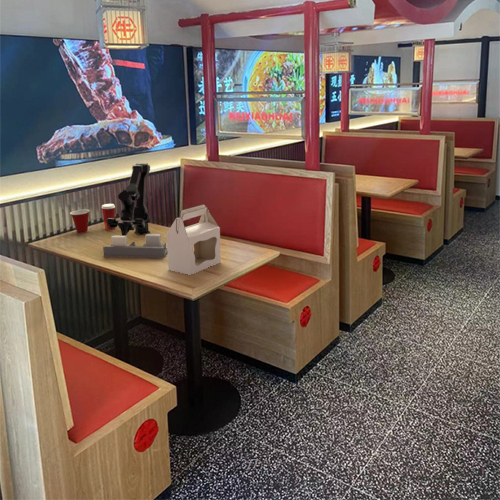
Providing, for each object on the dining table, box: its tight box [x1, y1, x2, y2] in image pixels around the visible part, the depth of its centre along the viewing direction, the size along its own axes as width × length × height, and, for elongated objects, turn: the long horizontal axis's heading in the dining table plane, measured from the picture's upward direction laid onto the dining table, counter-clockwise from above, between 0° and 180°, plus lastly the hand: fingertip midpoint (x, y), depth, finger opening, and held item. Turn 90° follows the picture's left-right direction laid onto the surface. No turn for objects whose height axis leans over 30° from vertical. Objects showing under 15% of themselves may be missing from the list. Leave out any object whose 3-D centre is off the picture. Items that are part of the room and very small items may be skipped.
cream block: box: [110, 234, 129, 246], centre depth 270 cm, size 3×7×8 cm, turn 85°
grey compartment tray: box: [102, 241, 168, 259], centre depth 272 cm, size 13×30×5 cm, turn 85°
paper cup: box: [101, 203, 116, 231], centre depth 315 cm, size 8×8×14 cm
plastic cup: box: [69, 209, 90, 234], centre depth 310 cm, size 11×11×12 cm
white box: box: [144, 233, 162, 247], centre depth 272 cm, size 3×7×8 cm, turn 85°
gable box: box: [166, 204, 222, 276], centre depth 249 cm, size 22×13×28 cm, turn 144°
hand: (123, 237), depth 275 cm, fingers closed
